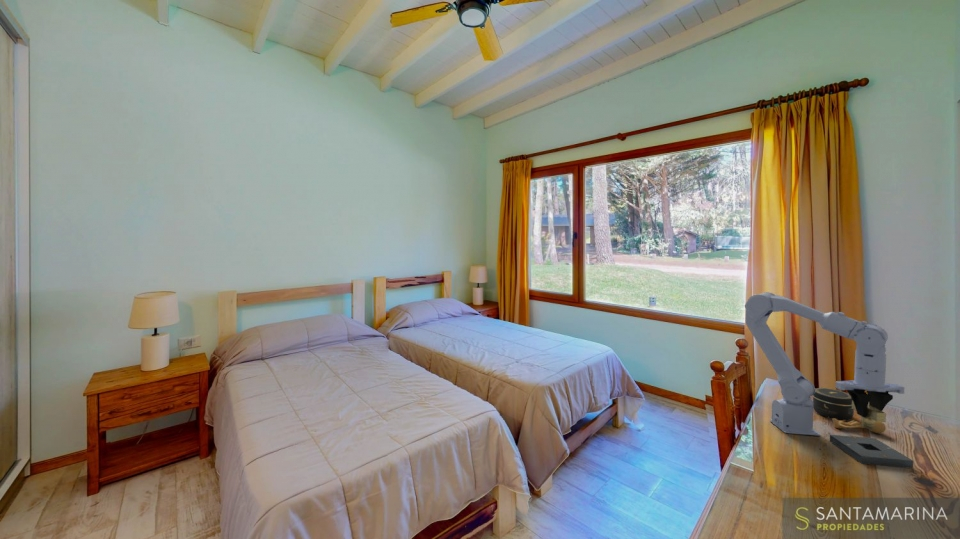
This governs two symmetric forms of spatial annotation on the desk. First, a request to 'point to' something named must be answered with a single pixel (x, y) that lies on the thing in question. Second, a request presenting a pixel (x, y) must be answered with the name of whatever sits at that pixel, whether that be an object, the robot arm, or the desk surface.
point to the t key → (871, 417)
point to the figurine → (859, 425)
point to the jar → (833, 404)
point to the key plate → (871, 451)
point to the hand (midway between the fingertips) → (867, 416)
